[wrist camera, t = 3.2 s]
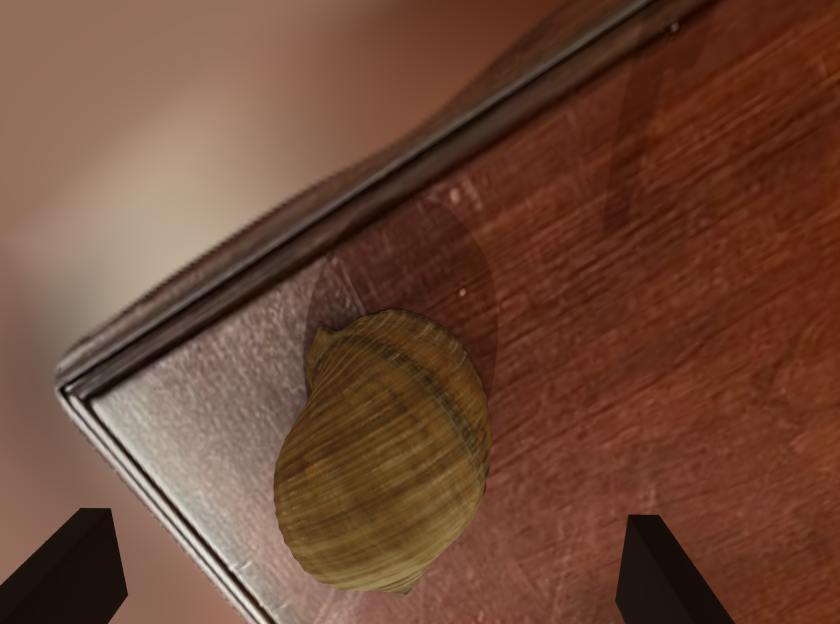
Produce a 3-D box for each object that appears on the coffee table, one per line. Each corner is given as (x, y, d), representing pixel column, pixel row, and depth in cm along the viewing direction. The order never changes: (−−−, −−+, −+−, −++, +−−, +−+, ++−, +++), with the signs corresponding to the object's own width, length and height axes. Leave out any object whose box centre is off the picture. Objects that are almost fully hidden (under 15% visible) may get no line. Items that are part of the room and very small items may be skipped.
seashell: (358, 305, 21) (183, 377, 16) (476, 262, 16) (281, 345, 11) (435, 498, 22) (294, 630, 17) (570, 513, 17) (433, 711, 12)
